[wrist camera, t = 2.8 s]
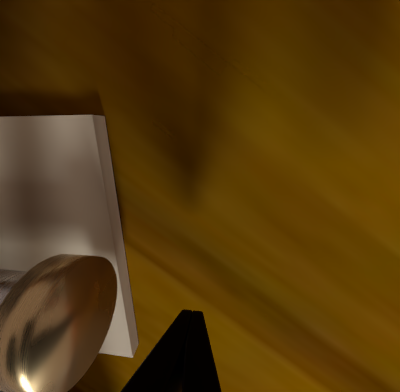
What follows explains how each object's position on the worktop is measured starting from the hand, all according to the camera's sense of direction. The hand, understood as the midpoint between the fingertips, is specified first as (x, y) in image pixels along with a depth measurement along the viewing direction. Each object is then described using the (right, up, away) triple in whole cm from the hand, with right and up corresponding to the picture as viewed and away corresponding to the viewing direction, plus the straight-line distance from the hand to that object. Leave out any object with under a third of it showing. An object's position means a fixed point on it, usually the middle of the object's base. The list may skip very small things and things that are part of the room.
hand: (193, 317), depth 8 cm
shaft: (-10, +1, +3) cm, 11 cm away
